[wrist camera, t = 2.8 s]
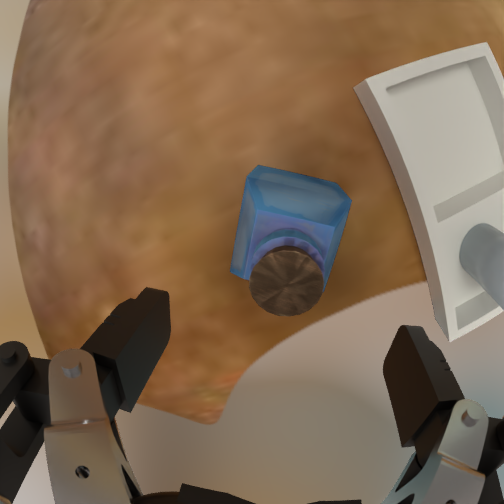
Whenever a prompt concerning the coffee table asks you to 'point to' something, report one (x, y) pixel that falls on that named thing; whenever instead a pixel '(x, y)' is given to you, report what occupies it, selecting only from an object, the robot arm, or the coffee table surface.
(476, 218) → the tray
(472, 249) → the grey rounded cylinder
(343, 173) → the coffee table surface
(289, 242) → the perfume bottle
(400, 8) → the coffee table surface
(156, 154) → the coffee table surface
